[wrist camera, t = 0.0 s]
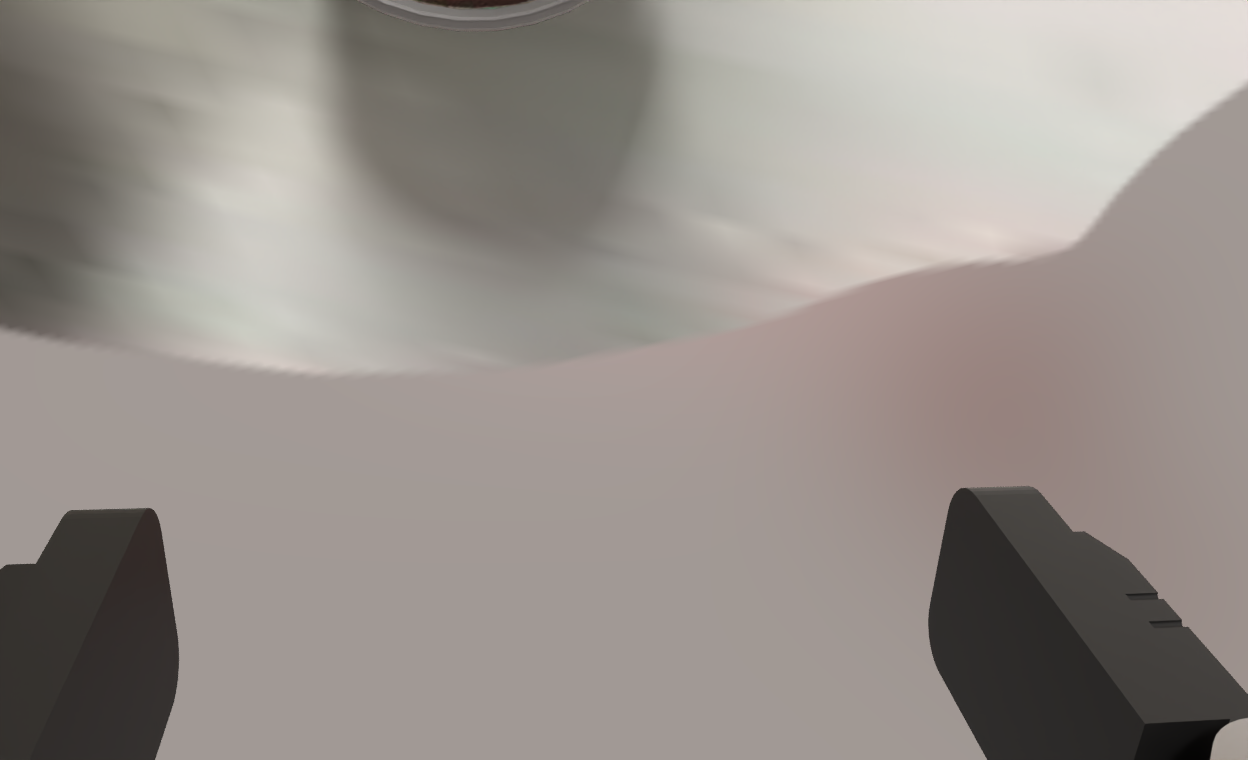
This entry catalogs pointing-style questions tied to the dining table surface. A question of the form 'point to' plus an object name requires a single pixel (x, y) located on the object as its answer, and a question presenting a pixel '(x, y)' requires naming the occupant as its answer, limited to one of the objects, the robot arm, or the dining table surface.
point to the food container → (474, 12)
